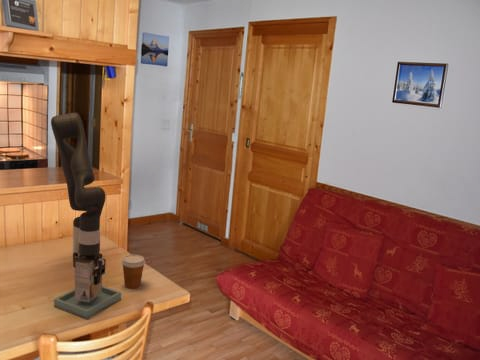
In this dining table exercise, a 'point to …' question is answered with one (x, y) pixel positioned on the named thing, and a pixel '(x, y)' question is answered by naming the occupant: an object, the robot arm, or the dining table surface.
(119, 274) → the dining table surface
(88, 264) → the coffee box
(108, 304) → the tray
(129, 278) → the disposable coffee cup
